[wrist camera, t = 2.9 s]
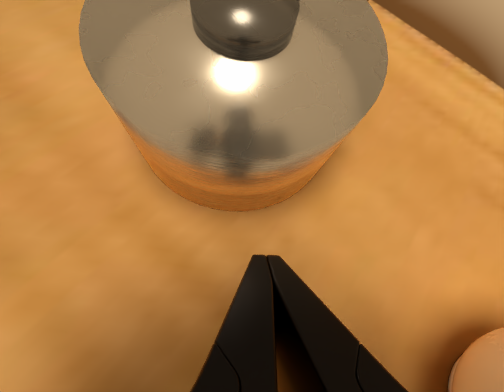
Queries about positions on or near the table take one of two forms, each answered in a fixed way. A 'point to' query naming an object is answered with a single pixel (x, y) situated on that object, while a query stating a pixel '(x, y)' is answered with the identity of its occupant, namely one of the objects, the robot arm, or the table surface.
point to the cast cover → (235, 88)
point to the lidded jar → (480, 365)
